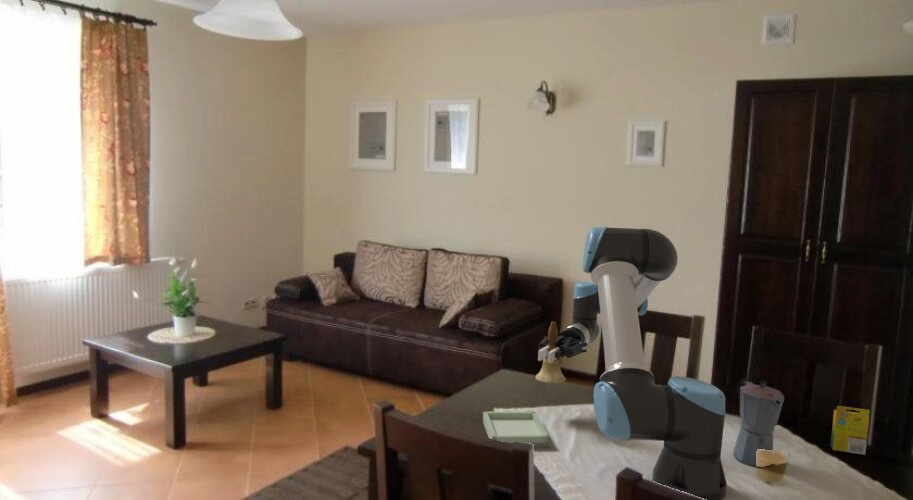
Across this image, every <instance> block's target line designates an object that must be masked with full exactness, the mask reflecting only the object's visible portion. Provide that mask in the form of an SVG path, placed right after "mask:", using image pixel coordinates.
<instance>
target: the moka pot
mask: <svg viewBox="0 0 913 500" xmlns="http://www.w3.org/2000/svg"><path fill="white" fill-rule="evenodd" d="M767 383H768V382H767V381H766V380H764V379H763V380H762V379H761V380H759V384H754V382H752V381H749V380H747V378H745V377H743V378H742V379H741V380H740V381H739V382H738V383H737V399H738V407H739V411H738V413H739V415H740V419H741V421H740V427H739V431H738V434H737V437H736V441H735V445H734V448H733V454H732V455H733V457H734V458H735V459H736V460H738V462H740V463H743V464H744V465H747V466H751V467H754V468H756V467H755V466H756V451H757V449H765V450H773V451H774V431H775V427H776V426H777V425H778V421H779V418H780V414H781V411H782V407H783V403H784V401H785V396H784V394H783V393H782V392H781V390H778V389H775V388H773V387H770V386H767Z"/></svg>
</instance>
